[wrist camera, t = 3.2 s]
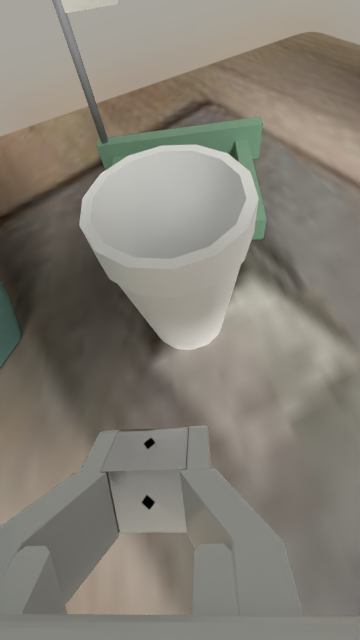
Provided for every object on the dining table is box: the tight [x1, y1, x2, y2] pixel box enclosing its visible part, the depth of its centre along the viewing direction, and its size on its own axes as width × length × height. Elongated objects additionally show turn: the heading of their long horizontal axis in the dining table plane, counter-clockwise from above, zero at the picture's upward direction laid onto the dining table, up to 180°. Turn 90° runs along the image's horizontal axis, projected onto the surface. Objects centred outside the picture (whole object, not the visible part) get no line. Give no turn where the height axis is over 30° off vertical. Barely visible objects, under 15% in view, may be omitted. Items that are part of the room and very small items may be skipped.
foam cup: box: [79, 145, 259, 350], centre depth 21 cm, size 10×9×13 cm
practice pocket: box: [53, 0, 267, 240], centre depth 27 cm, size 14×19×18 cm
